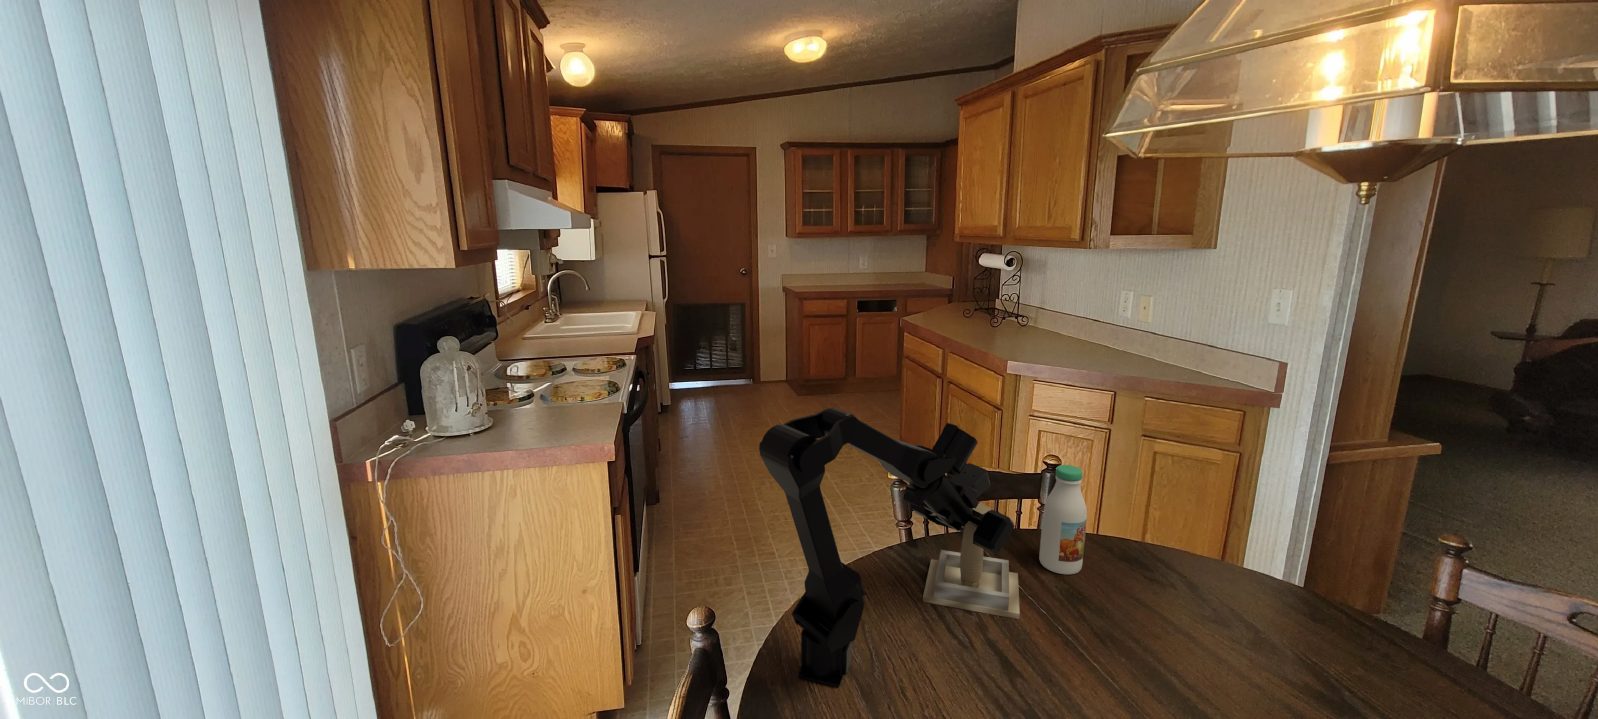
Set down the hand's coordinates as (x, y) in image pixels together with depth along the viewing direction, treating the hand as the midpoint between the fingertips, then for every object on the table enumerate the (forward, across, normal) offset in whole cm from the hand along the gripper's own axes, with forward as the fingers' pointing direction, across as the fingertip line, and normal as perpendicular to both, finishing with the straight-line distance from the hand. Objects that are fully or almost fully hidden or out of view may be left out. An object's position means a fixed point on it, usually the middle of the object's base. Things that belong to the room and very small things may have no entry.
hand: (980, 536), depth 110 cm
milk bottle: (+21, -4, -7) cm, 22 cm away
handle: (+5, 0, +8) cm, 9 cm away
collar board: (+6, 0, +8) cm, 10 cm away
